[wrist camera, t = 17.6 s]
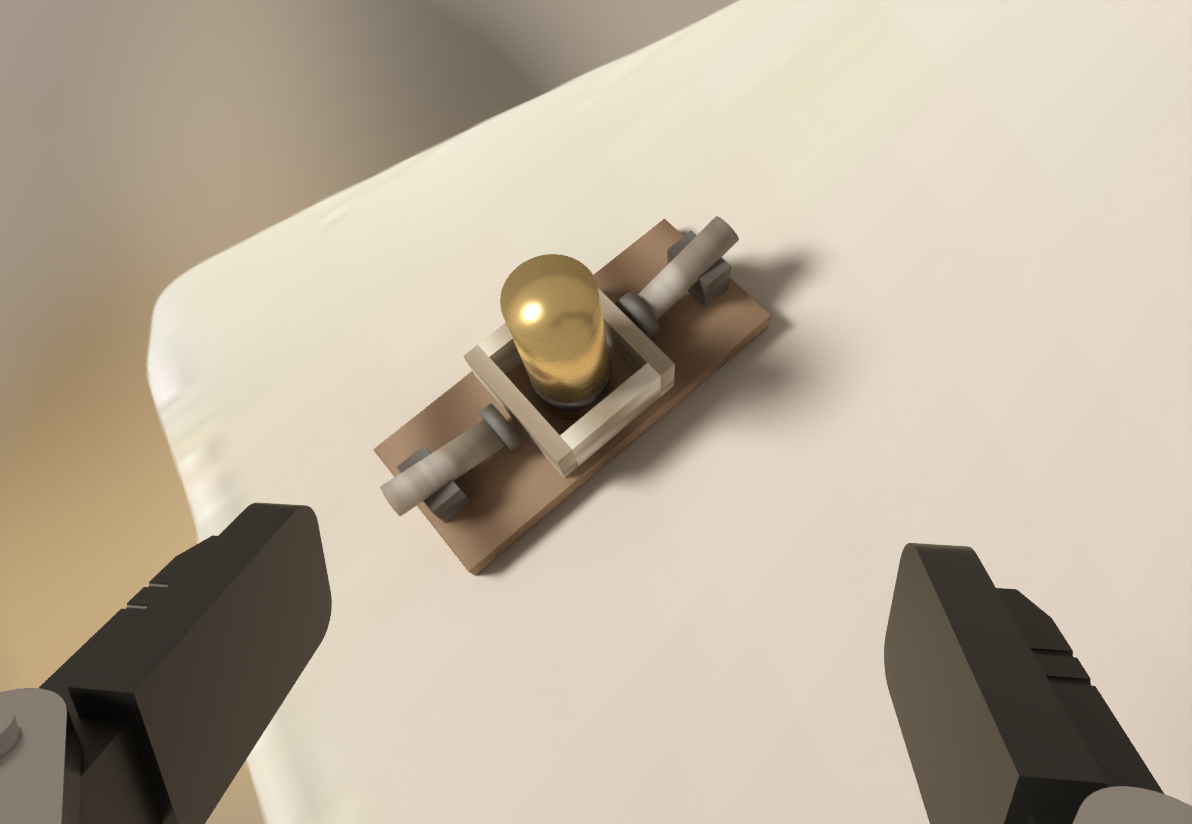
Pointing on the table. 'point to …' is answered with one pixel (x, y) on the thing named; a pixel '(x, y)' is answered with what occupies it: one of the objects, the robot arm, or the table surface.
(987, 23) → the table surface
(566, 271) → the ball
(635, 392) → the shaft rig
